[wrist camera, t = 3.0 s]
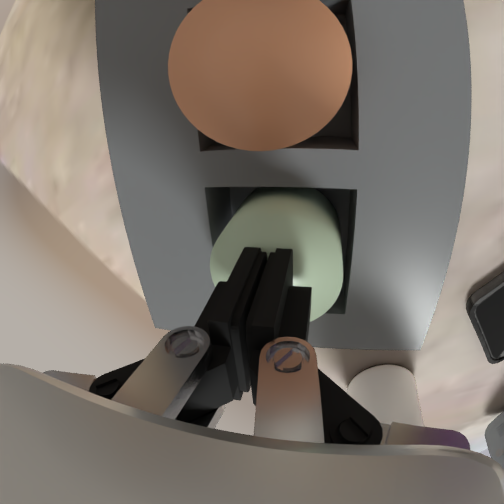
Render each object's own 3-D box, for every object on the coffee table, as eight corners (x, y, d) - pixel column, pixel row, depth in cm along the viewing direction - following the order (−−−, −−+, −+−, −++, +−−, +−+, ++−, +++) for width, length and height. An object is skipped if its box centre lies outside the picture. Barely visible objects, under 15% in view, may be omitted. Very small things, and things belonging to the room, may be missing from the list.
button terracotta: (209, 21, 9) (162, -1, 6) (338, 11, 8) (343, -23, 5) (218, 135, 11) (177, 155, 8) (344, 133, 10) (354, 152, 7)
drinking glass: (398, 339, 18) (407, 574, 5) (436, 382, 19) (449, 562, 7) (320, 379, 21) (286, 576, 9) (366, 414, 23) (352, 576, 10)
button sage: (231, 180, 13) (201, 212, 10) (342, 182, 12) (348, 215, 9) (241, 272, 16) (218, 321, 13) (336, 278, 15) (336, 330, 12)
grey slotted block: (143, -80, 8) (104, -102, 5) (399, -104, 5) (412, -140, 1) (182, 286, 20) (155, 327, 16) (407, 300, 16) (420, 350, 13)
